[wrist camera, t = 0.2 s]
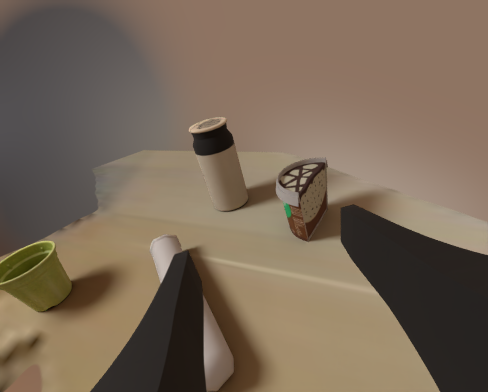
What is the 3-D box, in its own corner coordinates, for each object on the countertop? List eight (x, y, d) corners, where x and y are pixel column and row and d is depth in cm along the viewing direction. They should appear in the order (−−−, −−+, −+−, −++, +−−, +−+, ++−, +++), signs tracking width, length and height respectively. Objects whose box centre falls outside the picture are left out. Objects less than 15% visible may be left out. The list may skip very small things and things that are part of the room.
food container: (300, 199, 52) (293, 154, 47) (330, 204, 48) (327, 156, 43) (270, 238, 44) (259, 189, 39) (304, 247, 40) (296, 194, 35)
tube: (244, 354, 25) (179, 231, 45) (191, 378, 23) (148, 237, 43) (241, 388, 27) (180, 256, 47) (192, 414, 25) (150, 263, 45)
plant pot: (56, 274, 50) (27, 241, 45) (94, 274, 47) (66, 239, 42) (10, 319, 42) (-30, 284, 38) (52, 323, 39) (13, 286, 35)
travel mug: (253, 192, 59) (234, 114, 50) (240, 213, 53) (215, 128, 44) (223, 191, 62) (200, 119, 53) (208, 211, 56) (179, 133, 47)
